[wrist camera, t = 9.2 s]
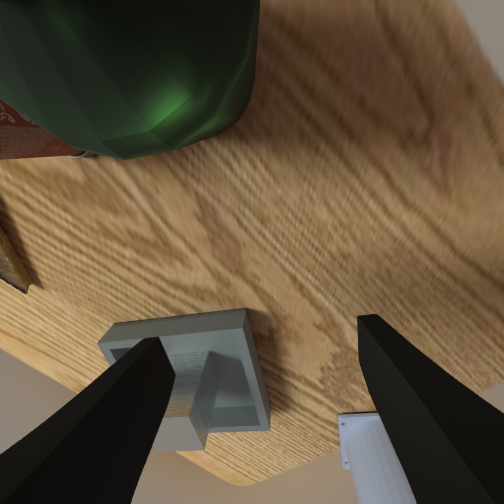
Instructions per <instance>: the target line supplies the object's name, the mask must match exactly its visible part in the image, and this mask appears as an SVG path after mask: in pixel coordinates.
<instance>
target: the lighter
mask: <svg viewBox="0 0 504 504" xmlns="http://www.w3.org/2000/svg"><path fill="white" fill-rule="evenodd" d="M93 154H95V153H92V152H88V151H83V150H79V149H75V148H72V147H70V146H69V145H67V144H66V143H64V142H63V141H61V140H60V139H58V138H57V137H55V136H54V135H52V134H51V133H49V132H47V131H46V130H44V129H43V128H41V127H40V126H38V125H37V124H35V123H34V122H32V121H31V120H29V119H28V118H26V117H25V116H23V115H21V114H20V113H19V112H17V111H16V110H15V109H13V108H12V107H10V106H9V105H8V104H6V103H5V102H4V101H2V100H1V99H0V160H3V159H19V158H36V157H52V156H69V157H73V158H83V157H89V156H92V155H93Z"/></svg>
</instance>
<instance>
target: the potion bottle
mask: <svg viewBox="0 0 504 504" xmlns="http://www.w3.org/2000/svg"><path fill="white" fill-rule="evenodd" d="M259 10H260V0H0V99H1V100H2V101H4V102H5V103H6V104H8V105H9V106H10V107H12V108H13V109H15V110H16V111H17V112H19V113H20V114H21V115H23V116H25V117H26V118H28V119H29V120H31V121H32V122H34V123H35V124H37V125H38V126H40V127H41V128H43V129H44V130H46V131H47V132H49V133H51V134H52V135H54V136H55V137H57V138H58V139H60V140H61V141H63V142H64V143H66V144H67V145H69V146H70V147H72V148H75V149H79V150H83V151H88V152H92V153H96V154H100V155H105V156H109V157H113V158H118V159H122V160H127V159H132V158H137V157H142V156H147V155H152V154H156V153H161V152H166V151H171V150H175V149H178V148H180V147H183V146H186V145H189V144H192V143H195V142H198V141H201V140H203V139H206V138H209V137H212V136H215V135H218V134H221V133H222V132H224V131H225V130H226V129H228V128H229V127H230V126H232V125H233V124H234V123H236V122H237V121H238V120H239V118H240V116H241V115H242V113H243V111H244V110H245V108H246V106H247V104H248V103H249V101H250V97H251V92H252V86H253V81H254V75H255V63H256V50H257V37H258V23H259Z"/></svg>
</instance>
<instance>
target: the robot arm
mask: <svg viewBox="0 0 504 504" xmlns="http://www.w3.org/2000/svg"><path fill="white" fill-rule="evenodd" d="M357 326H358V353H359V363H360V366H361V369H362V372H363V376H364V379H365V382H366V385H367V388H368V391H369V393H370V396H371V398H372V400H373V403H374V405H375V407H376V410H377V412H378V413H361V414H341V415H339V416H338V427H339V437H340V448H341V458H342V466H343V468H344V469H345V470H351V472H352V477H353V480H354V485H355V489H356V493H357V497H358V502H359V504H504V413H502V412H501V411H500V410H498V409H497V408H495V407H493V406H492V405H491V404H490V403H488V402H487V401H485V400H484V399H482V398H481V397H479V396H478V395H477V394H476V393H474V392H473V391H471V390H470V389H469V388H467V387H466V386H465V385H463V384H462V383H461V382H459V381H458V380H457V379H455V378H454V377H453V376H451V375H450V374H449V373H447V372H446V371H445V370H443V369H442V368H441V367H440V366H438V365H437V364H436V363H435V362H433V361H432V360H431V359H430V358H428V357H427V356H426V355H425V354H423V353H422V352H421V351H420V350H418V349H417V348H416V347H415V346H414V345H412V344H411V343H410V342H409V341H408V340H406V339H405V338H404V337H403V336H402V335H401V334H399V333H398V332H397V331H396V330H395V329H394V328H393V327H391V326H390V325H389V324H388V323H387V322H386V321H384V320H383V319H382V318H381V317H380V316H379V315H377V314H370V315H361V316H357ZM175 377H176V374H175V371H174V369H173V367H172V365H171V363H170V360H169V358H168V356H167V354H166V351H165V349H164V347H163V345H162V342H161V340H160V338H159V337H149V338H144V339H142V340H141V341H140V342H138V343H137V344H136V345H135V346H134V347H132V348H131V349H130V350H129V351H128V352H126V353H125V354H124V355H123V356H122V357H121V358H120V359H118V360H117V361H116V362H115V363H114V364H113V365H112V366H110V367H109V368H108V369H107V370H106V371H105V372H103V373H102V374H101V375H100V376H99V377H98V378H97V379H95V380H94V381H93V382H92V383H91V384H90V385H88V386H87V387H86V388H85V389H84V390H82V391H81V392H80V393H79V394H78V395H77V396H75V397H74V398H73V399H72V400H70V401H69V402H68V403H67V404H65V405H64V406H63V407H62V408H61V409H59V410H58V411H57V412H56V413H55V414H53V415H52V416H51V417H50V418H48V419H47V420H46V421H45V422H43V423H42V424H41V425H39V426H38V427H37V428H36V429H34V430H33V431H31V432H30V433H29V434H28V435H26V436H25V437H23V438H22V439H21V440H19V441H18V442H17V443H15V444H14V445H13V446H11V447H10V448H9V449H7V450H6V451H4V452H3V453H2V454H0V504H131V501H132V498H133V495H134V492H135V489H136V486H137V484H138V481H139V478H140V476H141V473H142V470H143V468H144V465H145V463H146V460H147V458H148V455H149V453H150V450H151V448H152V445H153V443H154V440H155V438H156V435H157V433H158V430H159V428H160V425H161V422H162V420H163V417H164V415H165V412H166V409H167V407H168V404H169V400H170V397H171V393H172V390H173V385H174V381H175Z"/></svg>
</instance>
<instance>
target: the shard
mask: <svg viewBox="0 0 504 504" xmlns="http://www.w3.org/2000/svg"><path fill="white" fill-rule="evenodd" d="M0 279H2V280H4V281H5V282H6V283H8V284H11V285H12V286H13V287H14V288H16V289H18V290H20V291H21V292H23V293H24V294H27V292H28V288H29V285H31V284H33V282H32V280H31V278H30V277H29V274H28V273H27V271H26V269H25V267H24V265H23V264H22V262H21V261H20V259H19V258H18V256H17V254H16V253H15V251H14V249H13V247H12V245H11V243H10V241H9V240H8V238H7V235H6V234H5V233H4V231H3V230H2V228H1V226H0Z"/></svg>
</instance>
